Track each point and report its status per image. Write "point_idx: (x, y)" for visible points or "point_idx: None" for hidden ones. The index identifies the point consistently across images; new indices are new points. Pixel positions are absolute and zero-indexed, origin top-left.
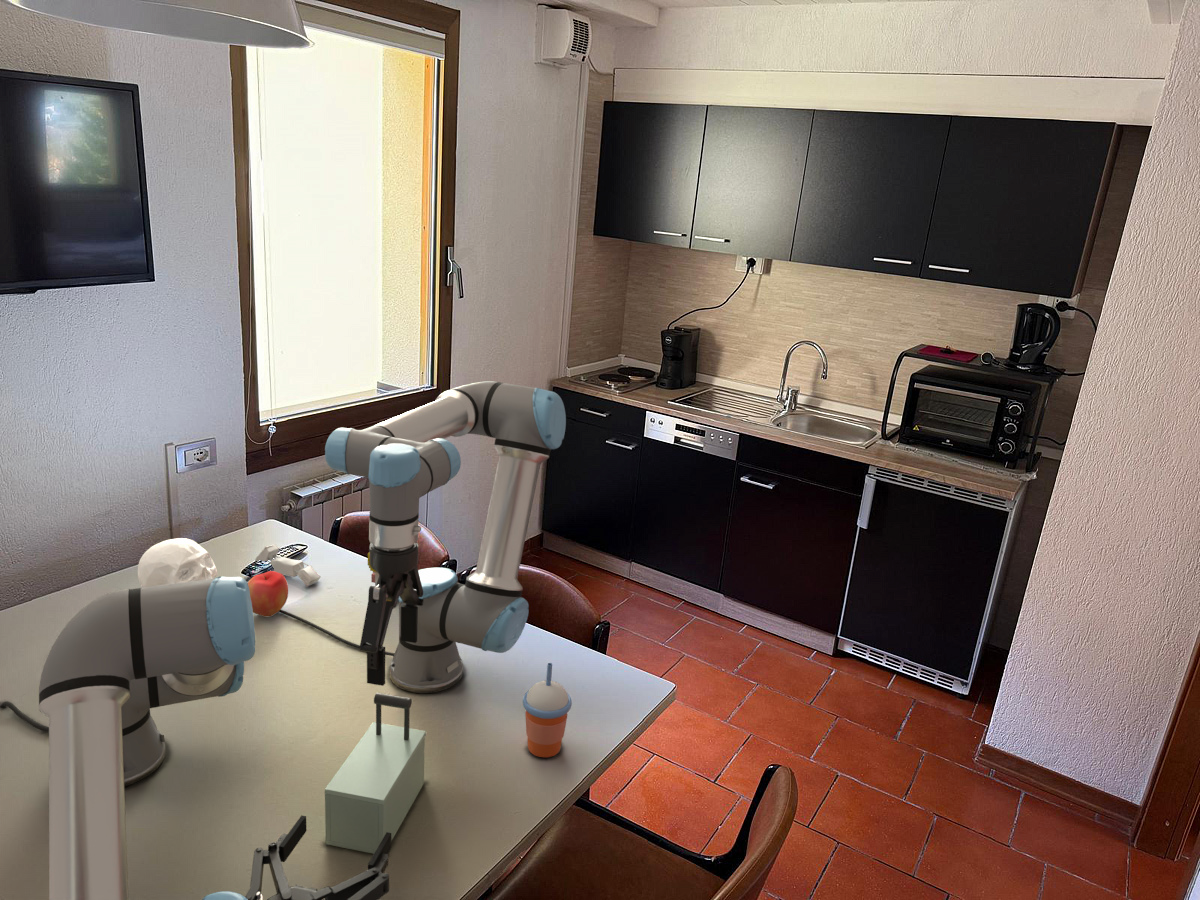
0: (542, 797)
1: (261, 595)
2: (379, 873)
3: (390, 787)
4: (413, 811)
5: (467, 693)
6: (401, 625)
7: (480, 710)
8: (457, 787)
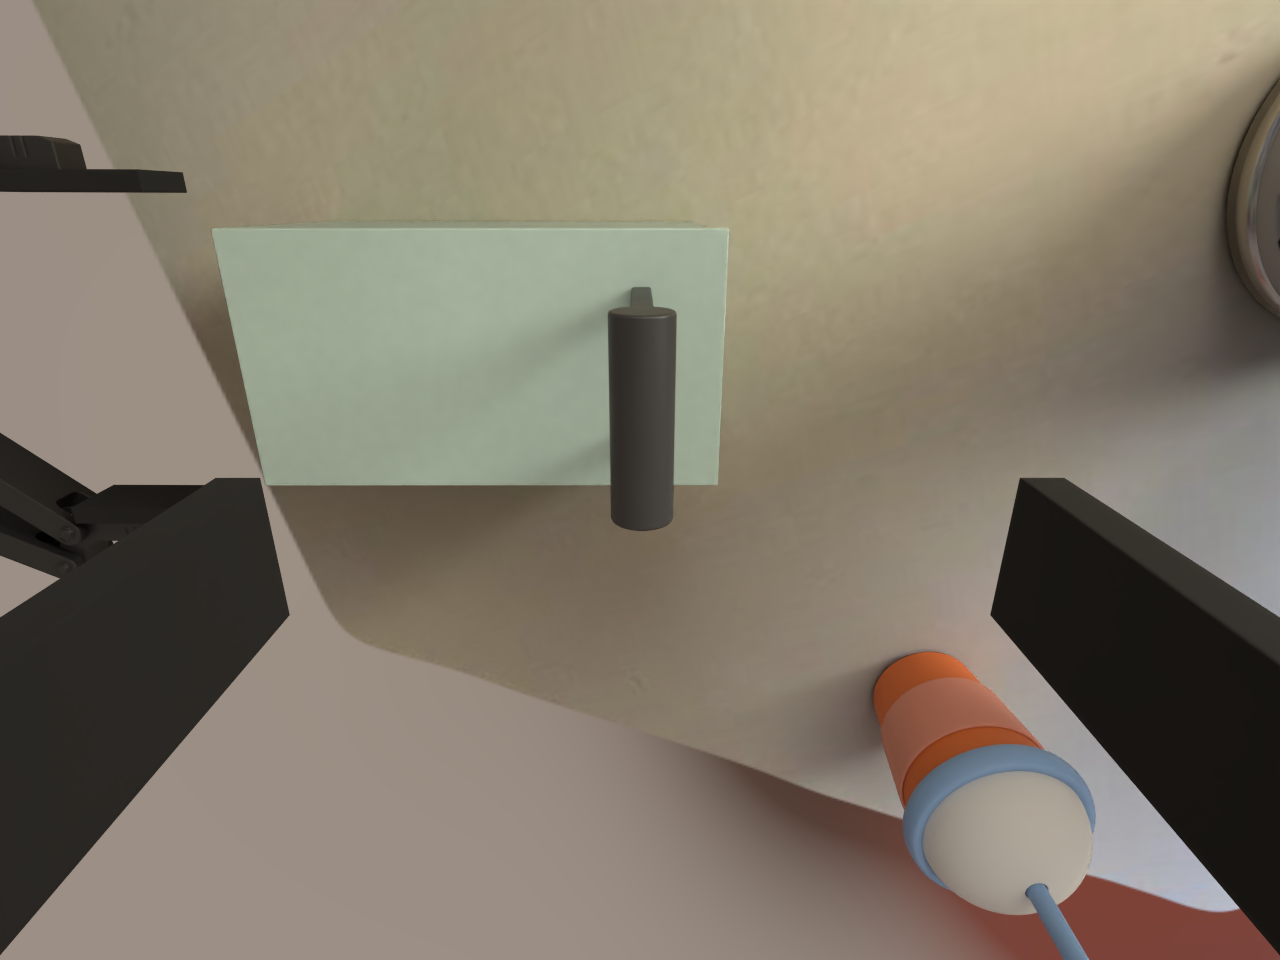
0: (710, 724)
1: None
2: (82, 541)
3: (338, 483)
4: None
5: (1225, 387)
6: (1133, 566)
7: (1111, 464)
8: (695, 513)
